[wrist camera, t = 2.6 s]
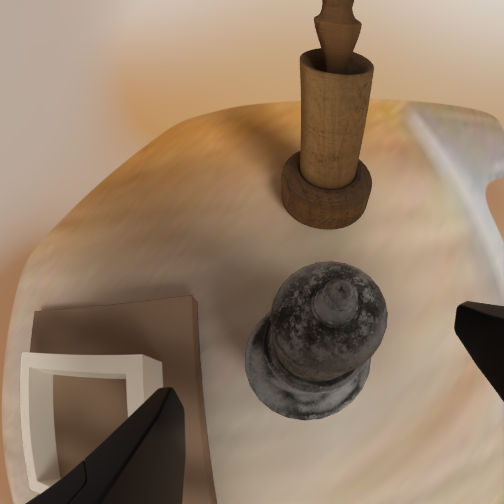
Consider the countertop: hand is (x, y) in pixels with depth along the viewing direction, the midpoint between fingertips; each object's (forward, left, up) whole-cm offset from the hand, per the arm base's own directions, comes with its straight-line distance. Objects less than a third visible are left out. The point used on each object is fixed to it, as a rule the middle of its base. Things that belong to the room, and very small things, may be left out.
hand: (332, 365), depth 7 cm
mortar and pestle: (+13, -4, -9) cm, 16 cm away
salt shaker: (+1, 0, -9) cm, 9 cm away
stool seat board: (-4, +13, -9) cm, 16 cm away
